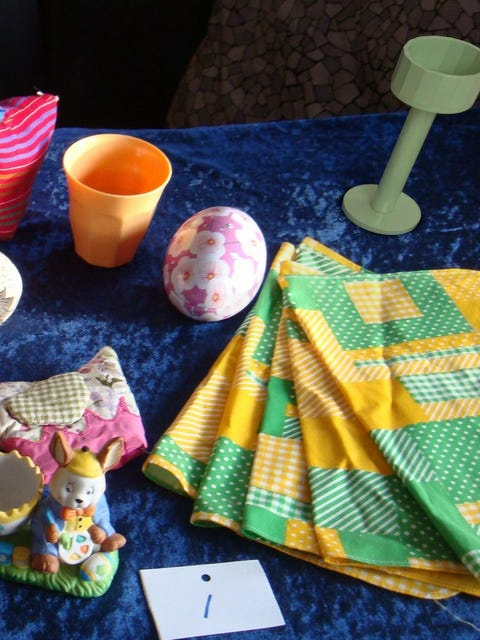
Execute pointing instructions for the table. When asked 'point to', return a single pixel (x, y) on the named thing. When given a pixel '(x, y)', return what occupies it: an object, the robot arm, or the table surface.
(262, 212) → the table surface
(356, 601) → the table surface
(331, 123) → the table surface
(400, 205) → the green goblet
